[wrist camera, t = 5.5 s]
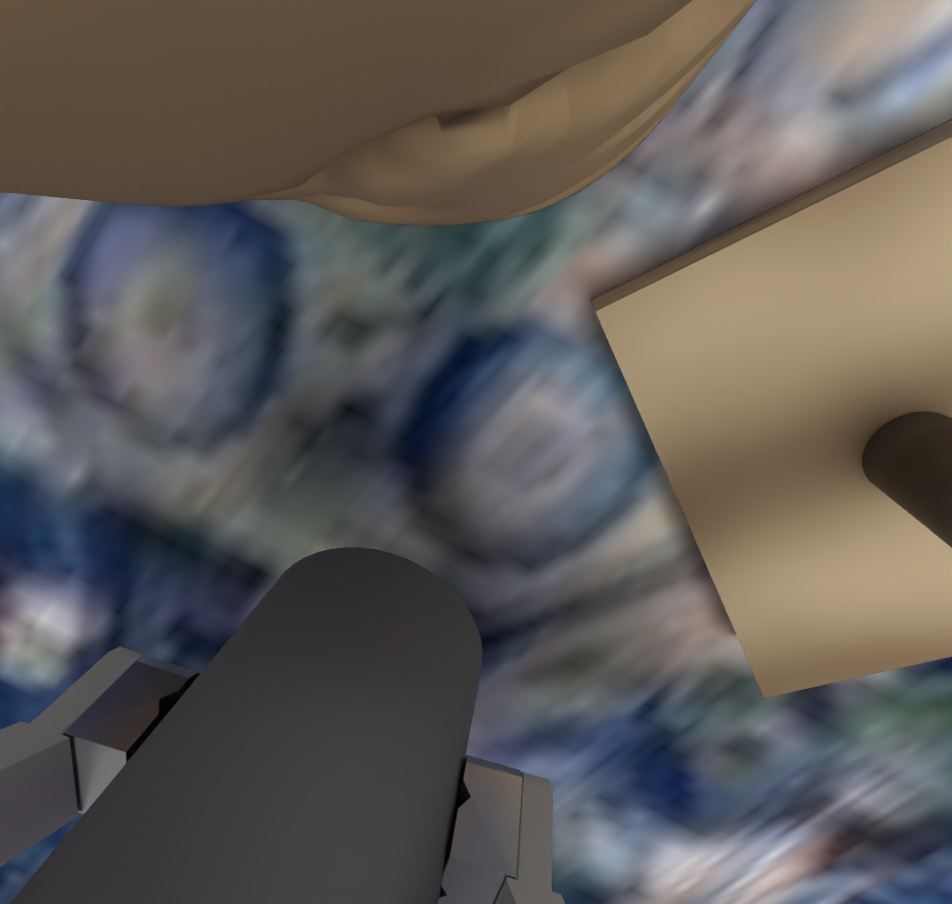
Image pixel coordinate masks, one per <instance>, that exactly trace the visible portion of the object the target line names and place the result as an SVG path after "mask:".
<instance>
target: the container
mask: <svg viewBox="0 0 952 904" xmlns="http://www.w3.org/2000/svg"><path fill="white" fill-rule="evenodd" d="M755 2H756V0H0V192H6V193H18V194H28V195H39V196H49V197H60V198H71V199H81V200H92V201H103V202H113V203H124V204H134V205H153V206H202V205H211V204H220V203H229V202H237V201H242V200H247V199H253V200H290V199H292V200H298V201H305V202H308V203H312V204H314V205H317V206H319V207H322V208H324V209H326V210H329V211H331V212H334V213H336V214H339V215H341V216H344V217H348V218H353V219H357V220H362V221H368V222H376V223H386V224H398V225H414V226H429V225H456V224H464V223H477V222H481V221H483V222H487V221H495V220H502V219H509V218H513V217H517V216H521V215H525V214H529V213H533V212H536V211H538V210H541V209H543V208H546V207H548V206H551V205H553V204H555V203H557V202H559V201H562V200H564V199H566V198H568V197H570V196H572V195H574V194H576V193H578V192H579V191H581V190H582V189H584V188H585V187H587V186H588V185H590V184H592V183H593V182H595V181H596V180H598V179H599V178H600V177H602V176H603V175H604V174H606V173H607V172H608V171H609V170H611V169H612V168H613V167H615V166H616V165H617V164H618V163H620V162H621V161H622V160H623V159H624V158H625V157H626V156H627V155H628V154H630V153H631V152H632V151H633V150H634V149H635V148H636V147H637V146H638V145H639V144H640V143H641V142H642V141H643V140H644V139H645V138H646V137H647V136H648V135H649V134H650V133H651V132H652V131H653V129H654V128H655V127H656V126H657V125H658V124H659V123H660V122H661V120H662V119H663V118H664V117H665V116H666V114H667V113H668V112H669V111H670V110H671V108H672V107H673V105H674V104H675V103H676V101H677V100H678V99H679V97H680V96H681V95H682V94H683V92H684V91H685V90H686V89H687V88H688V87H689V86H690V84H691V83H692V82H693V81H694V79H695V78H696V77H697V75H698V74H699V73H700V72H701V70H702V69H703V68H704V67H705V65H706V64H707V63H708V62H709V61H710V59H711V58H712V57H713V56H714V54H715V53H716V52H717V51H718V49H719V48H720V47H721V46H722V44H723V43H724V42H725V40H726V39H727V38H728V36H729V35H730V34H731V32H732V31H733V30H734V29H735V27H736V26H737V25H738V23H739V22H740V21H741V19H742V18H743V17H744V15H745V14H746V13H747V12H748V10H749V9H750V8H751V7H752V5H753V4H754V3H755Z"/></svg>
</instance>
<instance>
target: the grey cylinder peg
mask: <svg viewBox="0 0 952 904" xmlns="http://www.w3.org/2000/svg"><path fill="white" fill-rule="evenodd" d="M482 655H483V653H482V644H481V639H480V635H479V631H478V628H477V626H476V624H475V621H474V619H473V617H472V615H471V614H470V612H469V610H468V609H467V607H466V605H465V604H464V603H463V602H462V600H461V599H460V598H459V597H458V595H457V594H456V593H455V592H454V591H453V590H452V589H451V588H450V587H449V586H448V585H447V584H446V583H445V582H443V581H442V580H441V579H440V578H438V577H437V576H436V575H434V574H433V573H431V572H430V571H428V570H427V569H425V568H423V567H422V566H420V565H418V564H416V563H414V562H412V561H410V560H408V559H406V558H403V557H400V556H397V555H394V554H392V553H388V552H384V551H380V550H375V549H367V548H336V549H329V550H325V551H321V552H317V553H315V554H312V555H310V556H308V557H305V558H303V559H302V560H300V561H298V562H297V563H295V564H294V565H292V566H291V567H290V568H289V569H288V570H286V571H285V572H284V574H283V575H282V576H281V577H280V578H279V579H278V581H277V582H276V583H275V584H274V585H273V587H272V588H271V589H270V590H269V592H268V593H267V594H266V595H265V596H264V598H263V599H262V600H261V601H260V602H259V604H258V605H257V606H256V607H255V608H254V610H253V611H252V612H251V613H250V614H249V616H248V617H247V618H246V619H245V620H244V622H243V623H242V624H241V625H240V627H239V628H238V629H237V630H236V631H235V633H234V634H233V635H232V636H231V637H230V639H229V640H228V641H227V642H226V643H225V645H224V646H223V647H222V648H221V649H220V651H219V652H218V653H217V654H216V655H215V657H214V658H213V659H212V660H211V662H210V663H209V664H208V665H207V666H206V668H205V669H204V670H203V671H202V672H201V674H200V675H199V676H198V677H197V678H196V680H195V681H194V682H193V683H192V684H191V686H190V687H189V688H188V689H187V690H186V692H185V693H184V694H183V695H182V697H181V698H180V699H179V700H178V701H177V703H176V704H175V705H174V706H173V707H172V709H171V710H170V711H169V712H168V713H167V715H166V716H165V717H164V718H163V719H162V721H161V722H160V723H159V724H158V725H157V727H156V728H155V729H154V730H153V732H152V733H151V734H150V735H149V736H148V738H147V739H146V740H145V741H144V742H143V744H142V745H141V746H140V747H139V748H138V750H137V751H136V752H135V753H134V754H133V756H132V757H131V758H130V759H129V761H128V762H127V763H126V764H125V765H124V767H123V768H122V769H121V770H120V771H119V773H118V774H117V775H116V776H115V777H114V779H113V780H112V781H111V782H110V783H109V785H108V786H107V787H106V788H105V789H104V791H103V792H102V793H101V794H100V796H99V797H98V798H97V799H96V800H95V802H94V803H93V804H92V805H91V806H90V808H89V809H88V810H87V811H86V812H85V814H84V815H83V816H82V817H81V818H80V820H79V821H78V822H77V823H76V824H75V826H74V827H73V828H72V829H71V831H70V832H69V833H68V834H67V835H66V837H65V838H64V839H63V840H62V841H61V843H60V844H59V845H58V846H57V847H56V849H55V850H54V851H53V852H52V853H51V855H50V856H49V857H48V858H47V859H46V861H45V862H44V863H43V864H42V866H41V867H40V868H39V869H38V870H37V872H36V873H35V874H34V875H33V876H32V878H31V879H30V880H29V881H28V882H27V884H26V885H25V886H24V887H23V888H22V890H21V891H20V892H19V893H18V894H17V896H16V897H15V898H14V899H13V901H12V902H11V903H10V904H438V901H439V895H440V890H441V884H442V879H443V872H444V866H445V861H446V855H447V850H448V844H449V839H450V833H451V828H452V824H453V819H454V814H455V808H456V803H457V795H458V790H459V784H460V779H461V774H462V768H463V763H464V759H465V754H466V749H467V743H468V738H469V732H470V727H471V722H472V716H473V711H474V705H475V700H476V694H477V689H478V684H479V678H480V673H481V667H482Z"/></svg>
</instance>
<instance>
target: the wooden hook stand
mask: <svg viewBox="0 0 952 904" xmlns="http://www.w3.org/2000/svg"><path fill="white" fill-rule="evenodd" d="M591 301H592V304H593V306H594V309H595V312H596V314H597V316H598V319H599V321H600V323H601V326H602V328H603V330H604V332H605V335H606V337H607V339H608V342H609V344H610V346H611V348H612V351H613V353H614V355H615V358H616V360H617V362H618V364H619V367H620V369H621V371H622V374H623V376H624V378H625V380H626V383H627V385H628V387H629V390H630V392H631V394H632V397H633V399H634V401H635V403H636V406H637V408H638V410H639V413H640V415H641V417H642V419H643V422H644V424H645V426H646V429H647V431H648V433H649V435H650V438H651V440H652V442H653V445H654V447H655V449H656V451H657V454H658V456H659V458H660V461H661V463H662V465H663V468H664V470H665V472H666V474H667V477H668V479H669V481H670V484H671V486H672V488H673V490H674V493H675V495H676V497H677V500H678V502H679V504H680V506H681V509H682V511H683V513H684V516H685V518H686V520H687V522H688V525H689V527H690V529H691V532H692V534H693V536H694V539H695V541H696V543H697V545H698V548H699V550H700V552H701V555H702V557H703V559H704V561H705V564H706V566H707V568H708V571H709V573H710V575H711V577H712V580H713V582H714V584H715V587H716V589H717V591H718V594H719V596H720V598H721V600H722V603H723V605H724V607H725V610H726V612H727V614H728V616H729V619H730V621H731V623H732V626H733V628H734V630H735V632H736V635H737V637H738V639H739V642H740V644H741V646H742V648H743V651H744V653H745V655H746V658H747V660H748V662H749V665H750V667H751V669H752V671H753V674H754V676H755V678H756V681H757V683H758V685H759V687H760V690H761V692H762V694H763V697H764V698H767V697H771V696H776V695H780V694H785V693H789V692H794V691H798V690H803V689H807V688H812V687H816V686H821V685H825V684H830V683H834V682H839V681H843V680H848V679H852V678H857V677H861V676H866V675H870V674H875V673H879V672H884V671H888V670H893V669H897V668H902V667H906V666H911V665H915V664H920V663H924V662H929V661H933V660H938V659H942V658H947V657H951V656H952V119H951V120H949V121H947V122H945V123H943V124H941V125H939V126H937V127H935V128H933V129H931V130H929V131H927V132H925V133H923V134H921V135H919V136H917V137H915V138H913V139H911V140H909V141H907V142H905V143H903V144H901V145H899V146H897V147H895V148H893V149H891V150H889V151H887V152H885V153H883V154H881V155H879V156H877V157H875V158H873V159H871V160H869V161H867V162H865V163H863V164H861V165H859V166H857V167H855V168H853V169H851V170H849V171H847V172H845V173H843V174H841V175H839V176H837V177H835V178H833V179H831V180H829V181H827V182H825V183H823V184H821V185H819V186H817V187H815V188H813V189H811V190H809V191H807V192H805V193H803V194H801V195H799V196H797V197H795V198H793V199H791V200H789V201H787V202H785V203H783V204H781V205H779V206H777V207H775V208H773V209H771V210H769V211H767V212H765V213H763V214H761V215H759V216H757V217H755V218H753V219H751V220H749V221H747V222H745V223H743V224H741V225H739V226H737V227H735V228H733V229H731V230H729V231H727V232H725V233H723V234H721V235H719V236H717V237H715V238H713V239H711V240H709V241H707V242H705V243H703V244H701V245H699V246H697V247H695V248H693V249H691V250H689V251H687V252H685V253H683V254H681V255H679V256H677V257H675V258H673V259H671V260H669V261H667V262H665V263H663V264H661V265H659V266H657V267H655V268H653V269H651V270H649V271H647V272H645V273H643V274H641V275H639V276H637V277H635V278H633V279H631V280H629V281H627V282H625V283H623V284H621V285H619V286H617V287H615V288H613V289H611V290H609V291H607V292H605V293H603V294H601V295H599V296H597V297H595V298H593V299H591Z"/></svg>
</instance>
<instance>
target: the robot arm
mask: <svg viewBox="0 0 952 904" xmlns="http://www.w3.org/2000/svg"><path fill="white" fill-rule="evenodd" d="M200 674H201V673H198V672H195V671H192V670H189V669H186V668H183V667H180V666H177V665H174V664H171V663H168V662H165V661H162V660H159V659H156V658H153V657H150V656H148V655H145V654H142V653H138V652H135V651H132V650H129V649H126V648H122V647H118V648H116V649H114V650H112V651H110V652H108V653H107V654H106V655H105V656H104V657H103V658H101V659H100V660H99V661H98V662H97V663H96V664H95V665H94V666H93V667H92V668H90V669H89V670H88V671H87V672H86V673H85V674H84V675H83V676H82V677H81V678H79V679H78V680H77V681H76V682H75V683H74V684H73V685H72V686H71V687H69V688H68V689H67V690H66V691H65V692H64V693H63V694H62V695H61V696H60V697H58V698H57V699H56V700H55V701H54V702H53V703H52V704H51V705H50V706H49V707H47V708H46V709H45V710H44V711H43V712H42V713H41V714H40V715H39V716H38V717H36V718H35V719H34V720H33V721H32V722H31V723H30V724H28V723H24V722H18V723H16V724H13V725H11V726H9V727H6V728H4V729H1V730H0V866H2V865H3V864H5V863H7V862H8V861H10V860H11V859H13V858H14V857H16V856H17V855H19V854H21V853H22V852H24V851H25V850H27V849H28V848H30V847H31V846H33V845H34V844H36V843H38V842H39V841H41V840H42V839H44V838H45V837H47V836H48V835H50V834H52V833H53V832H55V831H56V830H58V829H59V828H61V827H62V826H64V825H66V824H67V823H69V822H70V821H72V820H73V819H75V818H76V817H78V815H79V814H78V812H79V813H83V814H85V812H86V811H87V810H88V809H89V808H90V806H91V805H92V804H93V803H94V802H95V800H96V799H97V798H98V797H99V796H100V794H101V793H102V792H103V791H104V789H105V788H106V787H107V786H108V785H109V783H110V782H111V781H112V780H113V779H114V777H115V776H116V775H117V774H118V773H119V771H120V770H121V769H122V768H123V767H124V765H125V764H126V763H127V762H128V761H129V759H130V758H131V757H132V756H133V754H134V753H135V752H136V751H137V750H138V748H139V747H140V746H141V745H142V744H143V742H144V741H145V740H146V739H147V738H148V736H149V735H150V734H151V733H152V732H153V730H154V729H155V728H156V727H157V725H158V724H159V723H160V722H161V721H162V719H163V718H164V717H165V716H166V715H167V713H168V712H169V711H170V710H171V709H172V707H173V706H174V705H175V704H176V703H177V701H178V700H179V699H180V698H181V697H182V695H183V694H184V693H185V692H186V690H187V689H188V688H189V687H190V686H191V684H192V683H193V682H194V681H195V680H196V678H197V677H198V676H199V675H200ZM552 804H553V788H552V785H551V782H550V781H549V780H548V779H544V778H541V777H537V776H534V775H530V774H527V773H523V772H521V771H520V770H517V769H514V768H510V767H507V766H503V765H500V764H496V763H493V762H490V761H486V760H483V759H479V758H476V757H472V756H469V755H466V757H465V759H464V763H463V768H462V774H461V779H460V784H459V790H458V795H457V803H456V808H455V814H454V819H453V824H452V828H451V833H450V839H449V844H448V850H447V855H446V861H445V866H444V872H443V879H442V884H441V890H440V895H439V901H438V904H565V902H564V900H563V898H562V896H561V894H558V893H556V892H553V891H552Z"/></svg>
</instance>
